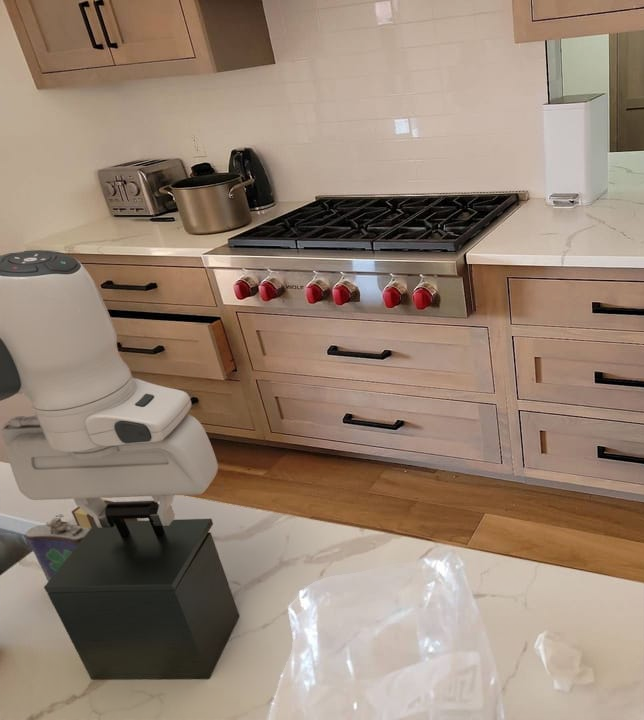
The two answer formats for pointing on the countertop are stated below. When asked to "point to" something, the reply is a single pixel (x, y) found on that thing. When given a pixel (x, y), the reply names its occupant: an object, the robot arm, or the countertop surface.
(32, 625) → the countertop surface
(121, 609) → the bin
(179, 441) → the robot arm
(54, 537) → the flask
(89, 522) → the chocolate
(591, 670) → the countertop surface
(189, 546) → the bin lid
